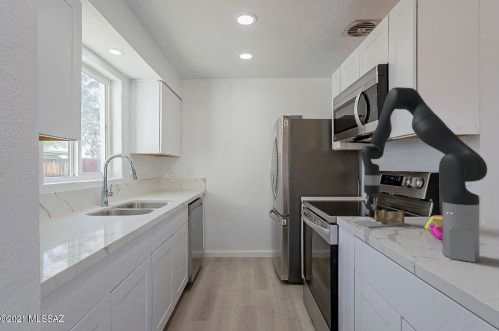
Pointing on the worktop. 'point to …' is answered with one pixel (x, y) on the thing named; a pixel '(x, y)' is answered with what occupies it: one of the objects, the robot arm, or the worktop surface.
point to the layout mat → (378, 224)
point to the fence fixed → (393, 217)
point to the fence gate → (378, 215)
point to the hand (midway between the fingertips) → (371, 217)
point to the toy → (436, 226)
